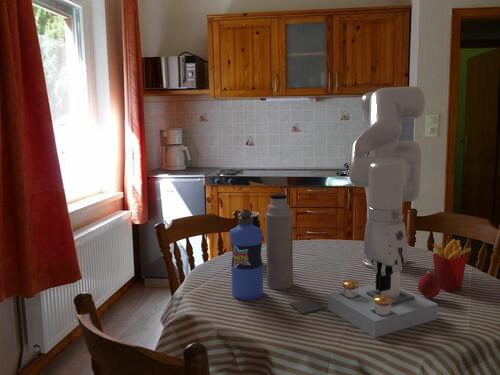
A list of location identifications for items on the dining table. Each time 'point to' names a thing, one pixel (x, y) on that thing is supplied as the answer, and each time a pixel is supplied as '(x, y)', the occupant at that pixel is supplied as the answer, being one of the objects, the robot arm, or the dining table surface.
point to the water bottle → (246, 258)
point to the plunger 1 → (350, 289)
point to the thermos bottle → (279, 243)
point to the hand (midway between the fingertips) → (383, 289)
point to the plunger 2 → (382, 305)
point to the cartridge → (393, 286)
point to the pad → (307, 306)
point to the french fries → (450, 265)
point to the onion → (429, 286)
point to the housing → (402, 316)
